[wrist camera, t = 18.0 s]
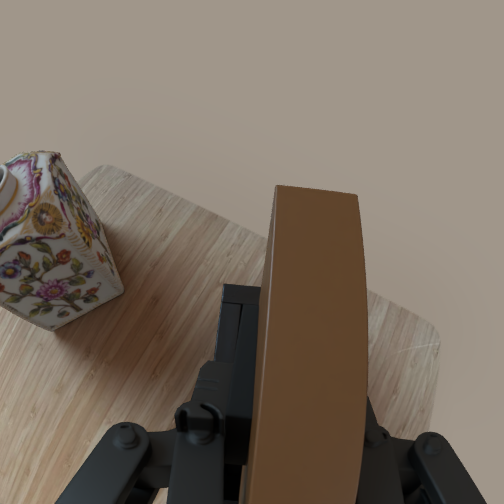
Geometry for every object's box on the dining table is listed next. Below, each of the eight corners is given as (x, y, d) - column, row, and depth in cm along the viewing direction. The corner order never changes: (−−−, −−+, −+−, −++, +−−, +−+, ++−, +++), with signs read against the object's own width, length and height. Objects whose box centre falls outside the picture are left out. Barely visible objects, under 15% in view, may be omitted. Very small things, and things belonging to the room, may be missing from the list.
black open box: (287, 487, 22) (303, 519, 14) (211, 481, 22) (198, 512, 14) (301, 320, 30) (321, 291, 22) (229, 314, 31) (223, 283, 23)
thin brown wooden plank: (275, 499, 12) (321, 626, 2) (238, 497, 12) (230, 629, 2) (291, 318, 17) (357, 193, 7) (256, 315, 17) (275, 183, 7)
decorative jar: (50, 335, 28) (-60, 273, 12) (34, 258, 33) (-45, 178, 17) (130, 292, 31) (44, 193, 15) (103, 218, 36) (42, 113, 20)
